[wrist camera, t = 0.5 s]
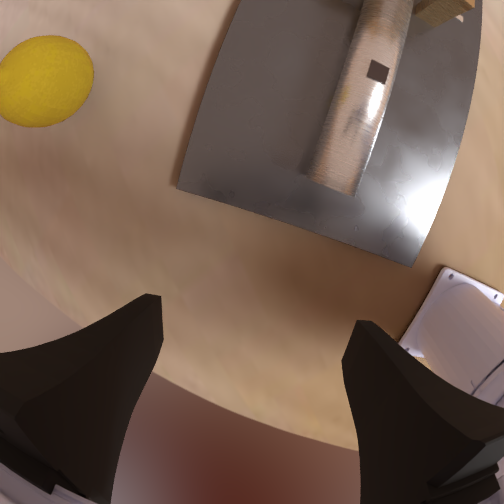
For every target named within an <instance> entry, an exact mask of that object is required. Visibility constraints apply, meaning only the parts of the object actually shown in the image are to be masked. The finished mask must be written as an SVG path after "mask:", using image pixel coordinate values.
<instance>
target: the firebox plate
mask: <svg viewBox="0 0 504 504" xmlns="http://www.w3.org/2000/svg"><path fill="white" fill-rule="evenodd" d="M363 3H364V0H241V2H240V4H239V6H238V8H237V11H236V13H235V15H234V18H233V20H232V22H231V25H230V27H229V29H228V32H227V34H226V37H225V39H224V42H223V44H222V47H221V49H220V52H219V54H218V57H217V60H216V62H215V65H214V68H213V70H212V73H211V76H210V79H209V82H208V84H207V87H206V90H205V93H204V96H203V99H202V102H201V105H200V108H199V111H198V114H197V117H196V121H195V124H194V127H193V130H192V134H191V137H190V140H189V144H188V147H187V151H186V154H185V158H184V161H183V165H182V169H181V172H180V176H179V180H178V184H177V188H176V189H179V190H183V191H186V192H190V193H193V194H196V195H200V196H203V197H206V198H210V199H213V200H216V201H219V202H223V203H226V204H229V205H232V206H235V207H239V208H242V209H245V210H248V211H251V212H254V213H257V214H261V215H264V216H267V217H270V218H273V219H276V220H279V221H282V222H285V223H288V224H291V225H294V226H297V227H300V228H303V229H306V230H309V231H312V232H314V233H317V234H320V235H323V236H326V237H329V238H332V239H335V240H337V241H340V242H343V243H346V244H349V245H351V246H354V247H357V248H360V249H362V250H365V251H368V252H371V253H373V254H376V255H379V256H381V257H384V258H387V259H389V260H392V261H395V262H397V263H400V264H403V265H405V266H408V267H410V268H412V266H413V264H414V262H415V260H416V258H417V256H418V253H419V251H420V249H421V247H422V245H423V243H424V241H425V238H426V236H427V234H428V232H429V229H430V227H431V225H432V222H433V220H434V218H435V215H436V213H437V210H438V208H439V205H440V203H441V200H442V197H443V195H444V192H445V189H446V187H447V184H448V181H449V178H450V175H451V172H452V169H453V166H454V163H455V160H456V157H457V154H458V150H459V147H460V143H461V140H462V136H463V133H464V129H465V125H466V121H467V117H468V113H469V108H470V104H471V99H472V94H473V89H474V83H475V78H476V71H477V65H478V57H479V49H480V39H481V26H482V0H413V8H412V13H411V17H410V22H409V26H408V31H407V35H406V39H405V43H404V47H403V51H402V55H401V59H400V62H399V66H398V70H397V73H396V77H395V80H394V84H393V87H392V91H391V94H390V97H389V101H388V104H387V107H386V110H385V113H384V117H383V120H382V123H381V126H380V129H379V132H378V135H377V138H376V141H375V144H374V146H373V149H372V152H371V155H370V158H369V161H368V163H367V166H366V169H365V171H364V174H363V177H362V179H361V182H360V185H359V187H358V190H357V193H356V195H355V197H353V196H350V195H347V194H344V193H341V192H339V191H336V190H334V189H331V188H329V187H326V186H324V185H321V184H319V183H317V182H315V181H312V180H310V179H308V178H306V174H307V171H308V168H309V165H310V163H311V160H312V157H313V154H314V151H315V149H316V146H317V143H318V140H319V137H320V134H321V131H322V129H323V126H324V123H325V120H326V117H327V114H328V111H329V108H330V105H331V102H332V99H333V97H334V94H335V91H336V88H337V85H338V82H339V79H340V76H341V73H342V70H343V67H344V63H345V60H346V57H347V54H348V51H349V48H350V45H351V42H352V39H353V36H354V32H355V29H356V26H357V23H358V20H359V16H360V13H361V10H362V7H363Z"/></svg>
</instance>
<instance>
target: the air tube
mask: <svg viewBox="0 0 504 504" xmlns="http://www.w3.org/2000/svg"><path fill="white" fill-rule="evenodd" d="M412 8H413V0H364V3H363V7H362V10H361V13H360V16H359V20H358V23H357V26H356V29H355V32H354V36H353V39H352V42H351V45H350V48H349V51H348V54H347V57H346V60H345V63H344V67H343V70H342V73H341V76H340V79H339V82H338V85H337V88H336V91H335V94H334V97H333V99H332V102H331V105H330V108H329V111H328V114H327V117H326V120H325V123H324V126H323V129H322V131H321V134H320V137H319V140H318V143H317V146H316V149H315V151H314V154H313V157H312V160H311V163H310V165H309V168H308V171H307V174H306V178H308V179H310V180H312V181H315V182H317V183H319V184H321V185H324V186H326V187H329V188H331V189H334V190H336V191H339V192H341V193H344V194H347V195H350V196H353V197H355V195H356V193H357V190H358V187H359V185H360V182H361V179H362V177H363V174H364V171H365V169H366V166H367V163H368V161H369V158H370V155H371V152H372V149H373V146H374V144H375V141H376V138H377V135H378V132H379V129H380V126H381V123H382V120H383V117H384V113H385V110H386V107H387V104H388V101H389V97H390V94H391V91H392V87H393V84H394V80H395V77H396V73H397V70H398V66H399V62H400V59H401V55H402V51H403V47H404V43H405V39H406V35H407V31H408V26H409V22H410V17H411V13H412Z"/></svg>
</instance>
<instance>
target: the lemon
mask: <svg viewBox="0 0 504 504" xmlns="http://www.w3.org/2000/svg"><path fill="white" fill-rule="evenodd" d="M93 78H94V70H93V64H92V61H91V59H90V56H89V54H88V53H87V51H86V50H85V49H84V48H83V47H82V46H80V45H79V44H78V43H77V42H75V41H73V40H70V39H68V38H65V37H61V36H53V35H49V36H39V37H34V38H30V39H28V40H26V41H24V42H22V43H20V44H18V45H17V46H16V47H15V48H13V49H12V50H11V51H10V52H9V53H8V54H7V55H6V56H5V58H4V59H3V60H2V62H1V63H0V114H1V115H2V116H3V118H4V119H6V120H7V121H9V122H12V123H14V124H17V125H20V126H23V127H47V126H51V125H54V124H56V123H59V122H62V121H64V120H65V119H67V118H68V117H70V116H71V115H73V114H74V113H75V112H76V111H77V110H78V109H79V108H80V107H81V106H82V105H83V103H84V102H85V100H86V99H87V97H88V95H89V93H90V91H91V87H92V84H93Z"/></svg>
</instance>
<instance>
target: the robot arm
mask: <svg viewBox="0 0 504 504" xmlns="http://www.w3.org/2000/svg"><path fill="white" fill-rule="evenodd" d="M450 274H451V276H450V277H449V275H450ZM503 297H504V295H503V294H502V293H501V292H499V291H497V290H495V289H493V288H491V287H489V286H487V285H485V284H483V283H481V282H479V281H477V280H475V279H473V278H470V277H468V276H466V275H464V274H462V273H460V272H458V271H455V270H453V269H451V268H449V267H444V268H443V269H442V270H441V271H440V273H439V275H438V277H437V279H436V281H435V283H434V285H433V287H432V289H431V290H430V292H429V294H428V296H427V298H426V299H425V301H424V303H423V305H422V306H421V308H420V310H419V311H418V313H417V315H416V316H415V318H414V320H413V321H412V323H411V324H410V326H409V328H408V329H407V331H406V332H405V334H404V335H403V337H402V338H401V340H400V341H399V343H397V342H396V341H395V340H394V339H392V338H391V337H390V336H389V335H388V334H387V333H386V332H385V331H383V330H382V329H381V328H380V327H379V326H377V325H376V324H375V323H374V322H372V321H365V320H357V321H356V324H355V326H354V329H353V332H352V335H351V337H350V340H349V343H348V345H347V348H346V350H345V353H344V356H343V358H342V370H343V378H344V385H345V389H346V392H347V396H348V400H349V404H350V408H351V412H352V416H353V420H354V424H355V428H356V432H357V438H358V446H359V456H360V474H361V497H360V504H504V309H503V308H502V307H501V306H500V304H501V302H502V300H503ZM163 340H164V338H163V323H162V303H161V296H158V295H152V294H144V295H142V296H140V297H138V298H137V299H135V300H133V301H131V302H130V303H128V304H127V305H125V306H123V307H122V308H120V309H118V310H116V311H115V312H113V313H111V314H110V315H108V316H106V317H104V318H102V319H101V320H99V321H97V322H95V323H93V324H91V325H89V326H87V327H86V328H83V329H81V330H79V331H77V332H75V333H72V334H70V335H67V336H65V337H63V338H60V339H57V340H54V341H51V342H48V343H45V344H42V345H38V346H35V347H31V348H27V349H22V350H17V351H12V352H5V353H0V504H110V503H111V496H112V489H113V483H114V477H115V473H116V468H117V463H118V459H119V455H120V451H121V447H122V444H123V440H124V437H125V433H126V430H127V427H128V424H129V420H130V418H131V415H132V412H133V409H134V407H135V405H136V403H137V401H138V399H139V397H140V394H141V392H142V390H143V388H144V386H145V384H146V382H147V380H148V378H149V376H150V374H151V372H152V370H153V368H154V366H155V363H156V361H157V358H158V355H159V353H160V349H161V346H162V343H163ZM413 356H417V357H423V358H425V359H426V361H427V362H428V364H429V366H430V367H431V369H432V371H433V372H432V371H431V370H429V369H428V368H427V367H425V366H424V365H423V364H422V363H420V362H419V361H418V360H417V359H415V358H414V357H413Z"/></svg>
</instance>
